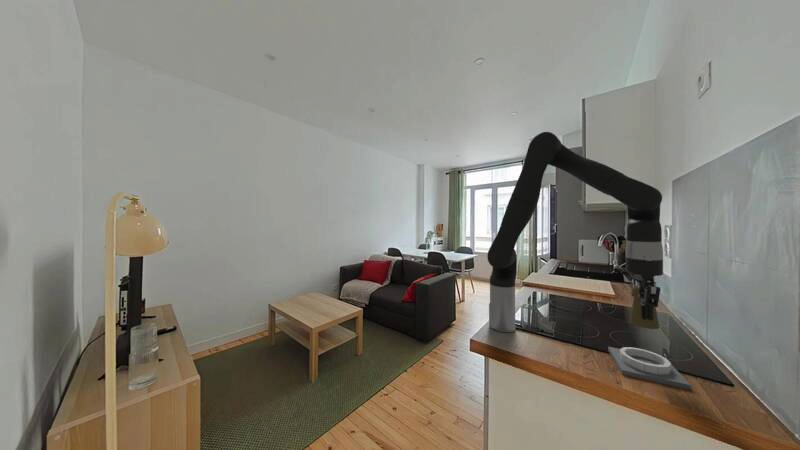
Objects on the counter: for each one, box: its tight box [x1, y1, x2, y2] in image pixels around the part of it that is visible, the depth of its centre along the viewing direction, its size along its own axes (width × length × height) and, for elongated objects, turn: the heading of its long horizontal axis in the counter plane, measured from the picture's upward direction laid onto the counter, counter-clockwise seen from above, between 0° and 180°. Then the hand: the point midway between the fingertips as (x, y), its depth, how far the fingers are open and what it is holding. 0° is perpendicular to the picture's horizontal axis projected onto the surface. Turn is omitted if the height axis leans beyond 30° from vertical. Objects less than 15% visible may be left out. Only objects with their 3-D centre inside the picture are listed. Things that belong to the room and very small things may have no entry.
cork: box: [628, 286, 660, 330], centre depth 69 cm, size 6×6×11 cm
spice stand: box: [607, 346, 692, 391], centre depth 69 cm, size 13×14×3 cm
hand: (643, 316), depth 69 cm, fingers closed on cork, 4 cm apart
